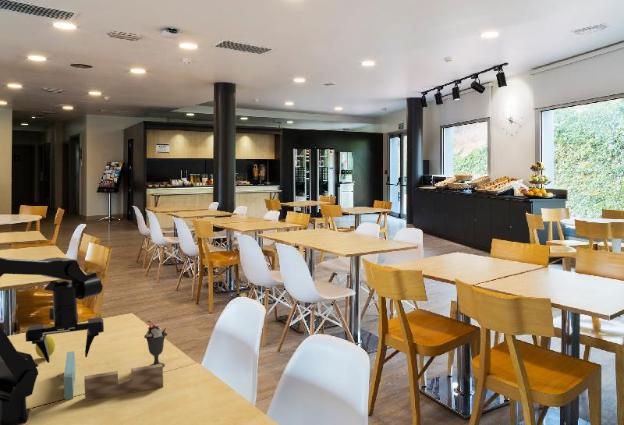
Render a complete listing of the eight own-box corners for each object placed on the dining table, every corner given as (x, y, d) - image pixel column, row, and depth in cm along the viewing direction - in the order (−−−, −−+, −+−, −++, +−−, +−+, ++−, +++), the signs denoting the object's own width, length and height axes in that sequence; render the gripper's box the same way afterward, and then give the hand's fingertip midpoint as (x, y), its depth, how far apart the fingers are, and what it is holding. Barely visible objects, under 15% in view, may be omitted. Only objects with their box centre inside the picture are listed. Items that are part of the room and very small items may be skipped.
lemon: (47, 362, 153) (45, 338, 153) (32, 361, 154) (30, 337, 154) (59, 355, 159) (58, 332, 158) (44, 354, 160) (43, 331, 159)
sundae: (140, 368, 149) (138, 321, 147) (156, 360, 155) (155, 315, 153) (156, 372, 146) (154, 324, 144) (172, 364, 152) (170, 318, 150)
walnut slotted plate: (162, 383, 138) (161, 363, 137) (163, 386, 136) (162, 366, 136) (85, 397, 130) (84, 376, 129) (85, 400, 128) (84, 379, 127)
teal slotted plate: (73, 398, 129) (72, 376, 129) (64, 399, 129) (63, 378, 128) (75, 370, 148) (74, 351, 147) (68, 371, 147) (67, 352, 146)
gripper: (102, 293, 142) (103, 344, 143) (29, 300, 134) (31, 354, 136) (102, 302, 132) (104, 357, 133) (23, 310, 124) (27, 369, 125)
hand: (67, 359), depth 132 cm, fingers open, 9 cm apart
